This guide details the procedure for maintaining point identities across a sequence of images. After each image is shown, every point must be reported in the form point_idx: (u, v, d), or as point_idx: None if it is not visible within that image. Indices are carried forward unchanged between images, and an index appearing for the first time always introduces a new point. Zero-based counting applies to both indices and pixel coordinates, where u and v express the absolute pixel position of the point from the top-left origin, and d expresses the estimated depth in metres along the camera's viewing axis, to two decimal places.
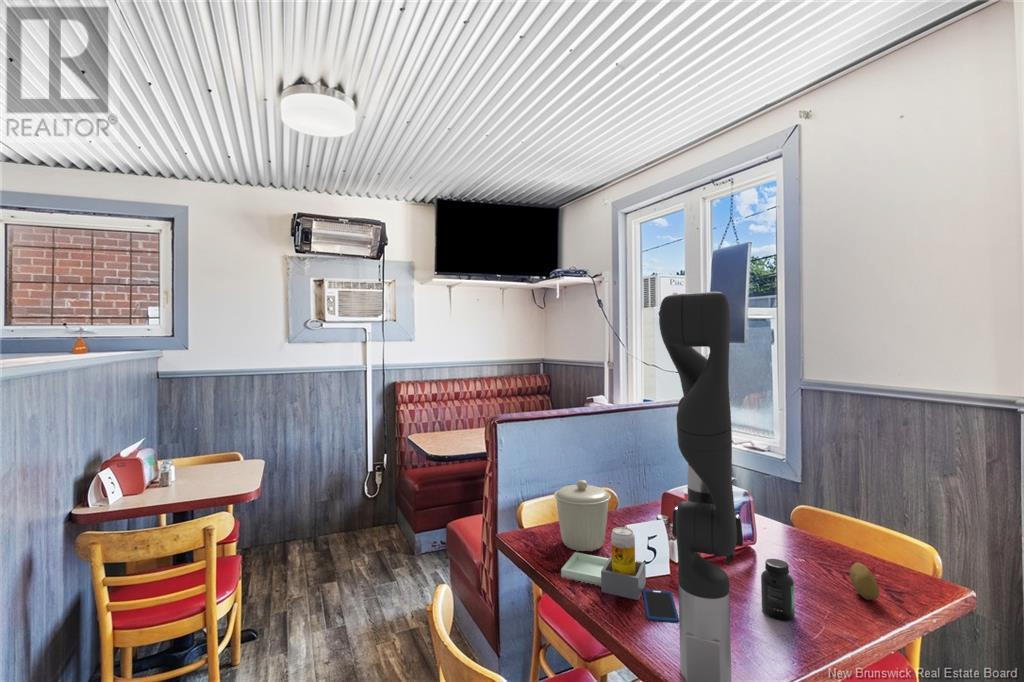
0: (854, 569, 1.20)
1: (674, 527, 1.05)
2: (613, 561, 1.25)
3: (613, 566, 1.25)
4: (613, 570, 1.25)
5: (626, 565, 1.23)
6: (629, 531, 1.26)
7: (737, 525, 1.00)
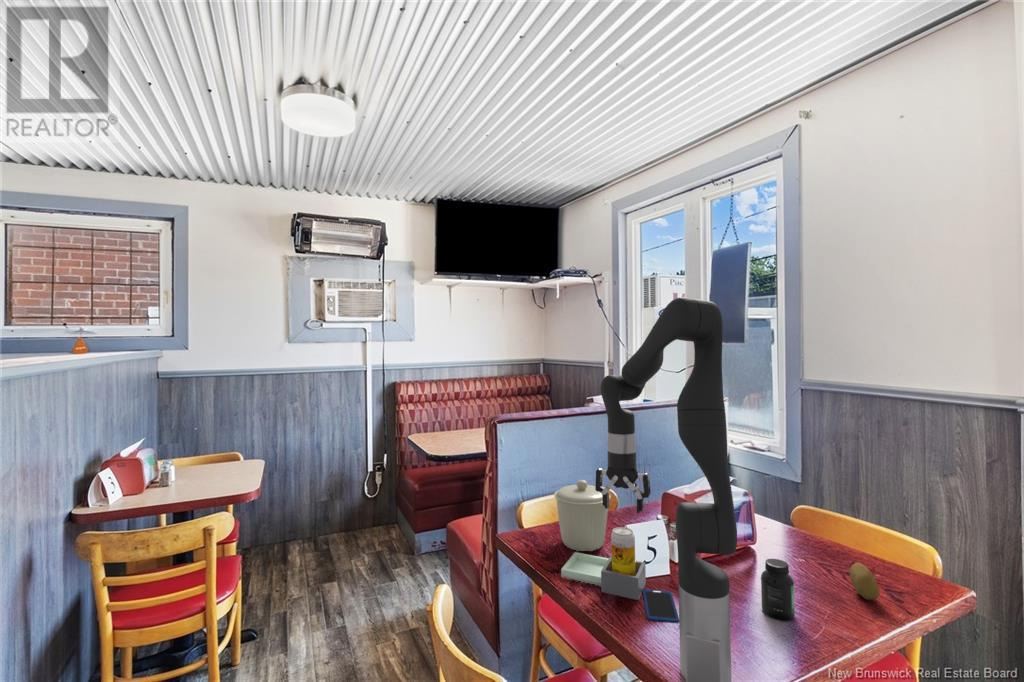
0: (854, 569, 1.20)
1: (597, 484, 1.28)
2: (613, 561, 1.25)
3: (613, 566, 1.25)
4: (613, 570, 1.25)
5: (626, 565, 1.23)
6: (629, 531, 1.26)
7: (644, 480, 1.22)
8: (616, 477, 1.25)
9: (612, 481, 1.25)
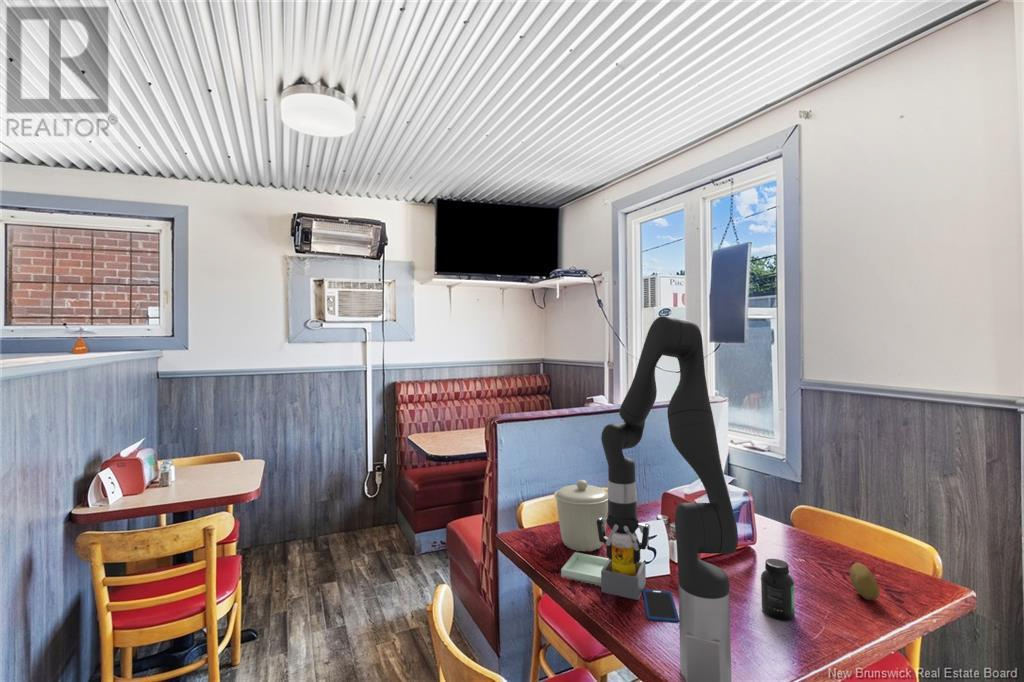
0: (854, 569, 1.20)
1: (600, 534, 1.27)
2: (613, 561, 1.25)
3: (613, 566, 1.25)
4: (613, 570, 1.25)
5: (626, 565, 1.23)
6: None
7: (644, 532, 1.22)
8: (616, 526, 1.25)
9: (613, 530, 1.25)
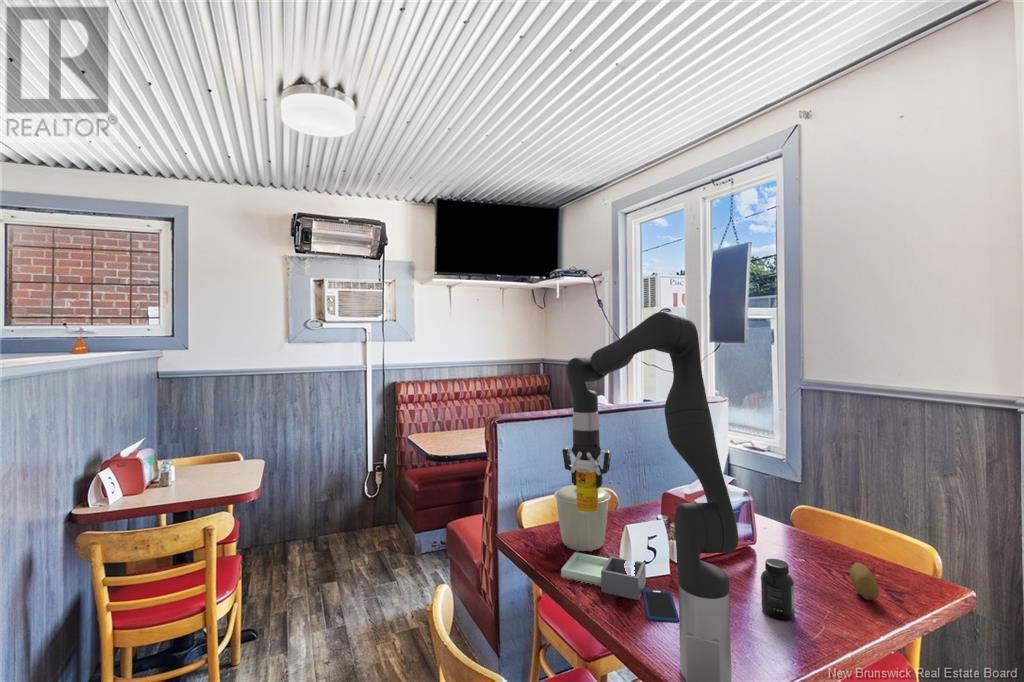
0: (854, 569, 1.20)
1: (565, 462, 1.36)
2: (577, 486, 1.33)
3: (577, 491, 1.33)
4: (577, 494, 1.33)
5: (589, 488, 1.31)
6: None
7: (605, 457, 1.31)
8: (580, 453, 1.33)
9: (577, 457, 1.34)
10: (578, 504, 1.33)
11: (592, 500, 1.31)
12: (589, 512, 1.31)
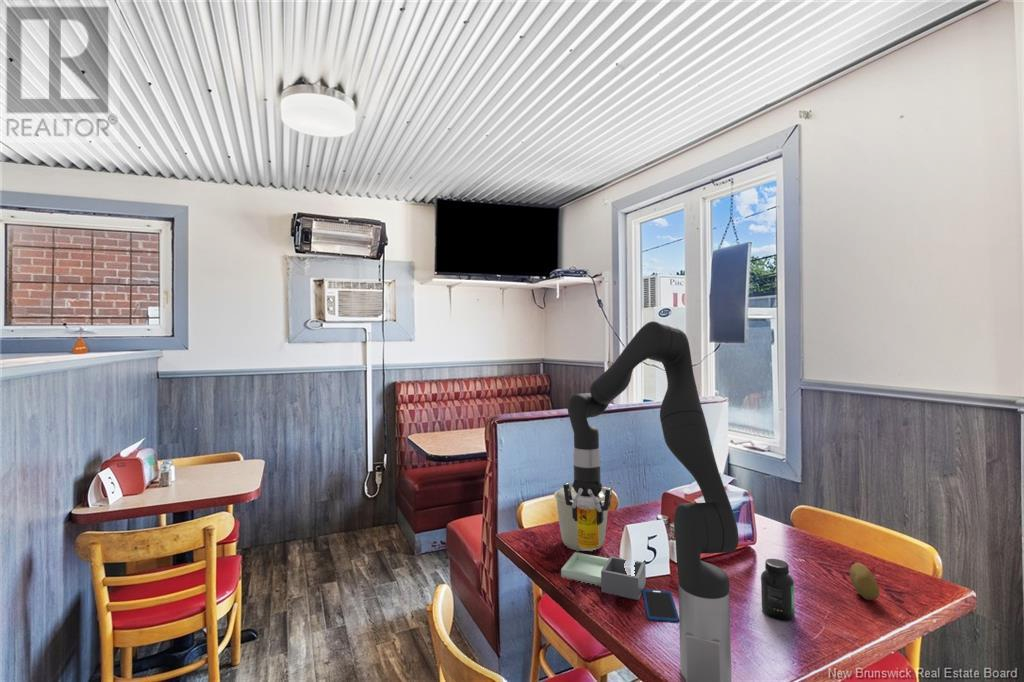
0: (854, 569, 1.20)
1: (566, 498, 1.36)
2: (578, 522, 1.33)
3: (578, 527, 1.33)
4: (578, 530, 1.33)
5: (589, 525, 1.31)
6: None
7: (606, 495, 1.31)
8: (581, 490, 1.33)
9: (578, 494, 1.34)
10: (579, 540, 1.33)
11: (593, 536, 1.31)
12: (590, 549, 1.31)
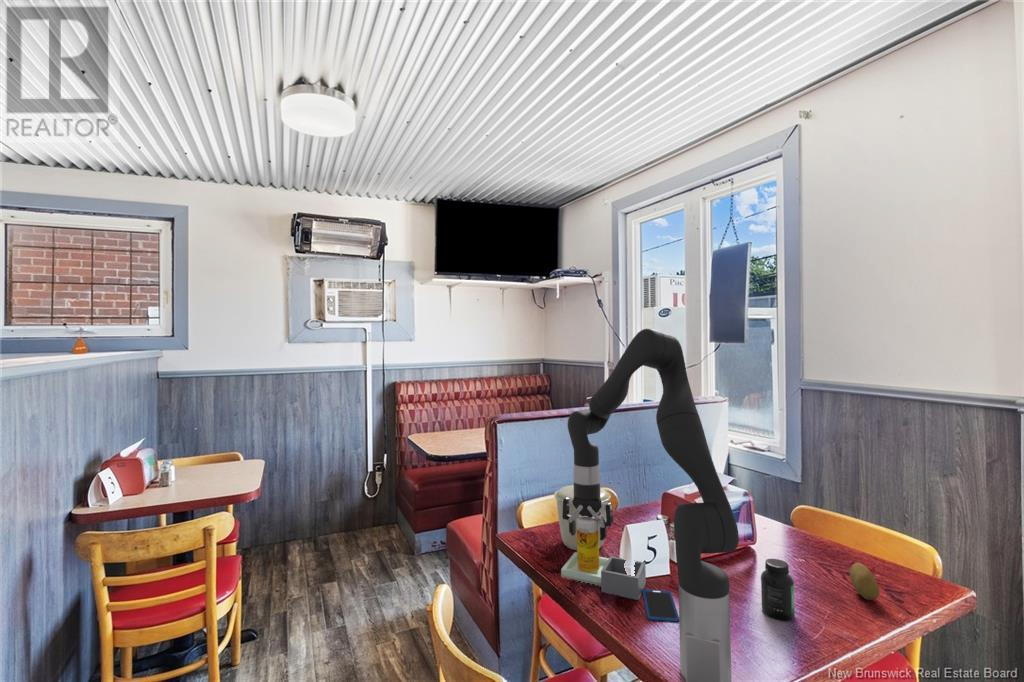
0: (854, 569, 1.20)
1: (564, 512, 1.36)
2: (578, 545, 1.33)
3: (578, 550, 1.33)
4: (578, 554, 1.33)
5: (590, 548, 1.31)
6: (593, 517, 1.34)
7: (607, 510, 1.30)
8: (581, 507, 1.33)
9: (577, 510, 1.34)
10: (579, 563, 1.33)
11: (593, 560, 1.31)
12: (590, 572, 1.31)
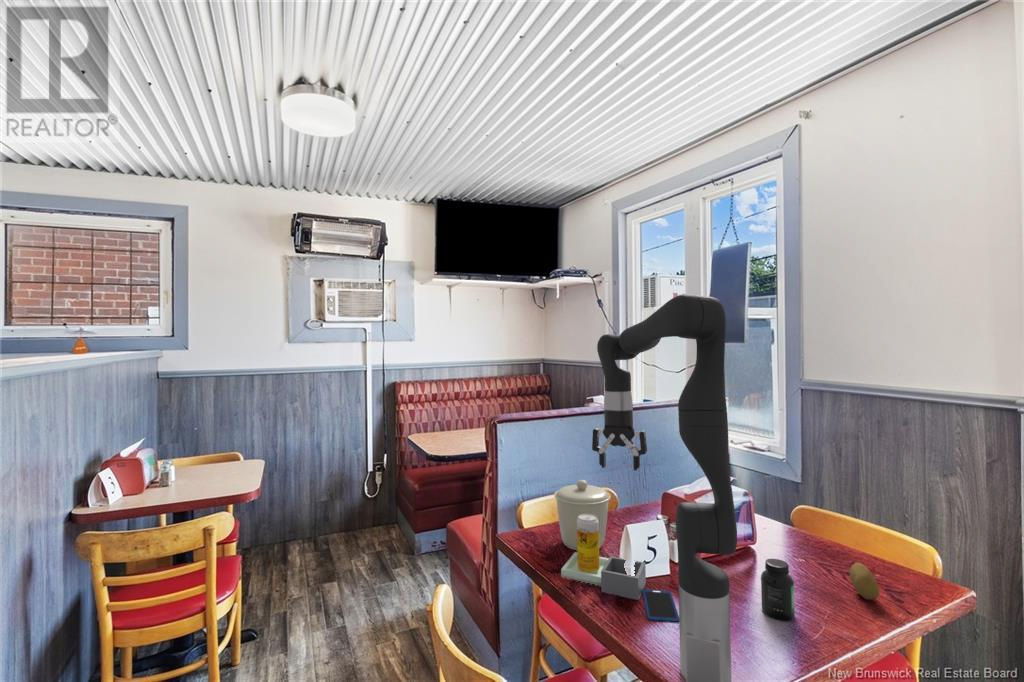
0: (854, 569, 1.20)
1: (593, 443, 1.28)
2: (578, 545, 1.33)
3: (578, 550, 1.33)
4: (578, 554, 1.33)
5: (590, 548, 1.31)
6: (593, 517, 1.34)
7: (641, 437, 1.23)
8: (612, 435, 1.26)
9: (609, 439, 1.26)
10: (579, 563, 1.33)
11: (593, 560, 1.31)
12: (590, 572, 1.31)
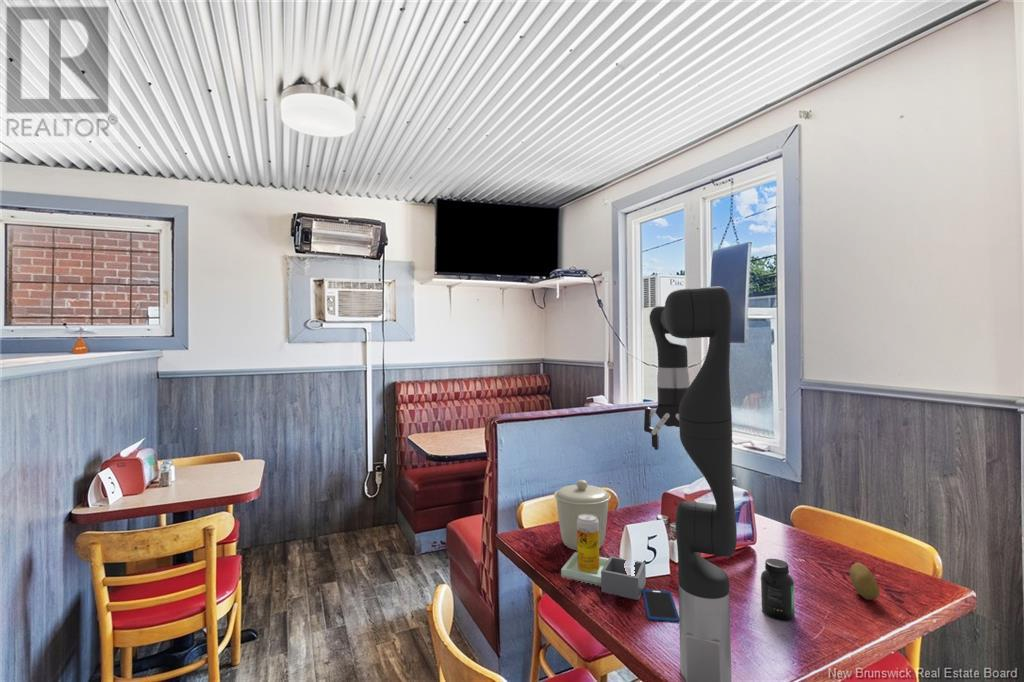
0: (854, 569, 1.20)
1: (645, 424, 1.19)
2: (578, 545, 1.33)
3: (578, 550, 1.33)
4: (578, 553, 1.33)
5: (590, 548, 1.31)
6: (593, 517, 1.34)
7: None
8: (667, 415, 1.16)
9: (663, 419, 1.17)
10: (579, 563, 1.33)
11: (593, 560, 1.31)
12: (590, 572, 1.31)
